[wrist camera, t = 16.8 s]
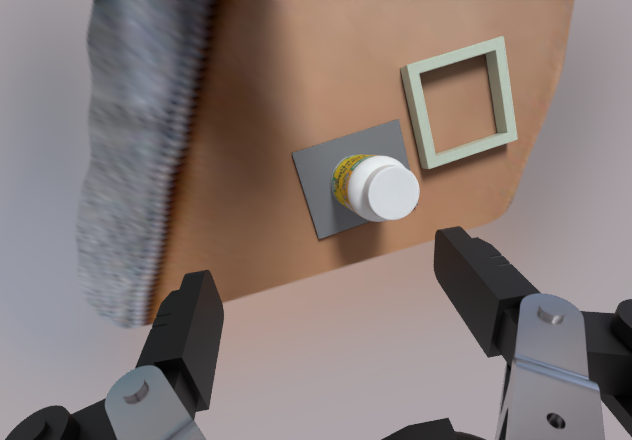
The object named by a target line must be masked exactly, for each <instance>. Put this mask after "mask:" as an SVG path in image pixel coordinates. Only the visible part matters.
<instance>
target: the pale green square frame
mask: <svg viewBox="0 0 632 440" xmlns="http://www.w3.org/2000/svg"><path fill="white" fill-rule="evenodd" d="M483 54H486V61H487V67H488V74H489V81H490V87H491V94H492V101H493V107H494V114H495V121H496V127H497V133H496V134H493V135H490V136H487V137H484V138H481V139H478V140H475V141H472V142H469V143H466V144H463V145H460V146H457V147H454V148H451V149H448V150H445V151H442V152H439V153H436V154H435V149H434V144H433V139H432V135H431V130H430V125H429V120H428V115H427V110H426V105H425V100H424V95H423V90H422V85H421V80H420V75H419V74H421V73H425V72H428V71H431V70H434V69H438V68H441V67H444V66H447V65H451V64H454V63H457V62H460V61H464V60H467V59H470V58H474V57H477V56H480V55H483ZM400 70H401V74H402V79H403V84H404V88H405V93H406V98H407V102H408V107H409V111H410V116H411V121H412V125H413V130H414V135H415V139H416V144H417V149H418V153H419V158H420V163H421V167H422V168H424V169H431V168H434V167H437V166H440V165H443V164H446V163H449V162H452V161H455V160H458V159H461V158H464V157H467V156H470V155H473V154H476V153H479V152H482V151H485V150H488V149H490V148H493V147H496V146H499V145H502V144H505V143H508V142H511V141H514V140H517V131H516V124H515V117H514V109H513V102H512V94H511V87H510V80H509V72H508V65H507V58H506V50H505V43H504V36H501V37H498V38H495V39H491V40H488V41H485V42H481V43H478V44H475V45H471V46H468V47H465V48H462V49H458V50H455V51H452V52H448V53H445V54H442V55H438V56H435V57H432V58H429V59H425V60H422V61H419V62H415V63H412V64H409V65H406V66H404V67H402V68H400Z"/></svg>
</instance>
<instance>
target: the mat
mask: <svg viewBox="0 0 632 440" xmlns="http://www.w3.org/2000/svg"><path fill="white" fill-rule="evenodd" d="M352 155H378V156H388V157H391V158H394V159H396V160H397V161H399V162H400V163H401V164H403V166H404V167H405V168H406V169H408V170H409V171H410V168H409V164H408V159H407V155H406V150H405V146H404V141H403V137H402V132H401V128H400V124H399V119H398V120H394V121H391V122H388V123H385V124H382V125H378V126H375V127H372V128H369V129H366V130H363V131H360V132H356V133H353V134H350V135H347V136H344V137H341V138H338V139H334V140H331V141H328V142H325V143H322V144H319V145H316V146H312V147H309V148H306V149H303V150H300V151H297V152H294V153H292V156H293V159H294V162H295V165H296V168H297V172H298V175H299V178H300V181H301V184H302V187H303V191H304V194H305V197H306V200H307V203H308V206H309V210H310V213H311V216H312V219H313V222H314V226H315V229H316V232H317V235H318V238H319V239H321V238H324V237H327V236H330V235H332V234H335V233H338V232H341V231H344V230H347V229H350V228H353V227H356V226H359V225H361V224H364V223H367V222H370V220H367V219H365V218H363V217H361V216H359V215H358V214H356V213H355V212H353V211H351V210H350V209H348V208H347V207H345V206H344V205H342V204H341V203H340V202H339V201H338V200H337V199H336V198H335V196H334V194H333V191H332V184H331V180H332V174H333V171H334V169H335V167H336V166H337V165H338V164H339V162H340V161H342V160H343V159H344V158H346V157H349V156H352ZM416 205H418V203H417V204H416Z"/></svg>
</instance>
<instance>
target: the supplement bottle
mask: <svg viewBox="0 0 632 440" xmlns="http://www.w3.org/2000/svg"><path fill="white" fill-rule="evenodd" d="M331 184H332V191H333V194H334V196H335V198H336V199H337V200H338V201H339V202H340V203H341V204H342V205H344V206H345V207H347V208H348V209H350V210H351V211H353V212H355V213H356V214H358V215H359V216H361V217H363V218H365V219H367V220H370V221H375V222H381V221H387V220H398V219H401V218H403V217H405V216H407V215H408V214H409V213H410V212H411V211H412V210H413V209H414V207H415V206H416V204H417V202H418V198H419V184H418V181H417V179H416V177H415V176H414V174H413V173H412V172H411V171H409V170H408V169H406V168H405V167H404V166H403V164H401V163H400V162H399V161H397V160H396V159H394V158H391V157H388V156H378V155H352V156H349V157H346V158H344V159H343V160H342V161H340V162H339V164H338V165H337V166H336V167H335V169H334V171H333V174H332V180H331Z"/></svg>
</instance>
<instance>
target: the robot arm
mask: <svg viewBox="0 0 632 440" xmlns="http://www.w3.org/2000/svg"><path fill="white" fill-rule="evenodd" d="M434 272H435V275H436V278H437V280H438V282H439V284H440V285H441V287H442V288H443V290H444V291H445V293H446V294H447V296H448V297H449V299H450V301H451V302H452V304H453V305H454V306H455V308H456V310H457V311H458V313H459V314H460V315H461V317H462V319H463V320H464V322H465V323H466V325H467V326H468V328H469V329H470V331H471V333H472V334H473V336H474V337H475V339H476V340H477V342H478V343H479V345H480V346H481V348H482V349H483V351H484V352H485V354H486V355H487V357H494V356H499V355H502V356H503V357H504V359H505V360H506V362H507V363H506V367H505V373H504V381H503V389H502V396H501V403H500V411H499V418H498V425H497V431H496V436H495V440H605V436H604V426H603V417H602V407H601V400H602V401H603V403H604V404H605V405H606V406H607V407H608V409H609V410H610V411H611V412H612V413H613V415H614V416H615V417H616V418H617V420H618V421H619V422H620V423H621V425H622V426H623V427H624V428H625V430H626V431H627V432H628V433H629V434H630V435H631V437H632V299H629V300H625V301H622V302H621V303H620V304H619V305H618V307H617V309H616V312H615V314H614V313H599V312H585V311H579V310H578V308H576V307H575V306H574V305H573V304H571V303H570V302H568V301H567V300H565V299H562V298H560V297H557V296H554V295H550V294H542V293H540V292H539V291H538V290H537V289H536V288H535V287H534V286H533V285H532V284H531V283H530V282H529V281H528V280H527V279H526V278H525V277H524V276H523V275H522V274H521V273H520V272H519V271H518V270H517V269H516V268H515V267H514V266H513V265H512V264H511V265H510V263H509V261H508V260H507V259H506V258H505V257H504V256H501V253H500V252H499V251H498V250H497V249H495V248H494V247H493V246H492V245H491V244H489V243H487V242H485V241H483V240H481V239H479V238H478V237H477V238H471V237H470V236H469V235H468V234H467V233H466V232H465V231H464V230H463V228H461V227H460V226H457V227H451V228H446V229H440V230H437V231H436V234H435V250H434ZM156 316H157V318H155V320H154V323H153V325H152V329H151V330H150V333H149V335H148V337H147V340H146V343H145V345H144V347H143V350H142V352H141V355H140V358H139V360H138V362H137V365H136V367H135V369H133V370H131V371H130V372H128V373H126V374H125V375H124V376H122V377H121V378H120V379H119V380H118V381H117V382H116V383H115V384H114V385H113V386H112V388H111V389H110V391H109V393H108V394H107V397H106V398H105V399H103V400H101V401H99V402H97V403H95V404H93V405H91V406H88V407H86V408H84V409H82V410H80V411H78V412H75V413H73V414H70V413H69V412H68V411H67V410H66V408H64V407H63V406H49V407H46V408H43V409H41V410H39V411H37V412H35V413H33V414H32V415H30V416H29V417H27V418H26V419H24V420H23V421H22V422H21V423H20V424H19V425H17V426H16V427H15V428H14V429H13V430H12V432H11V433H10V434H9V435H8V436H7V438H6V439H5V440H206V438H205V437H204V435H203V434H202V432H201V431H200V429H199V428H198V426H197V424H196V423H195V421H194V418H195V413H196V412H198V411H203V410H208V409H209V405H210V399H211V393H212V386H213V381H214V375H215V369H216V362H217V357H218V351H219V345H220V339H221V333H222V327H223V320H224V311H223V305H222V301H221V299H220V296H219V293H218V291H217V288H216V285H215V283H214V280H213V277H212V275H211V273H210V271H209V270H204V271H199V272H193V273H187V274H185V276H184V278H183V281H182V284H181V287H180V289H179V290H176V291H172V292H171V293H170V294H169V295H168V296H167V297H166V298H165V300H164V301H163V302H162V303H161V305H160V308H159V310H158V313H157V315H156ZM382 440H485V439H483V438H480V437H477V436H475V435H471V434H467V433H463V432H456V431H454V429H453V427H452V425H451V423H450V420H449V418H445V419H440V420H435V421H429V422H424V423H419V424H414V425H409V426H407V427H405V428H403V429H401V430H399V431H397V432H395V433H393V434H391V435H389V436H388V437H386V438H384V439H382Z"/></svg>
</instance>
